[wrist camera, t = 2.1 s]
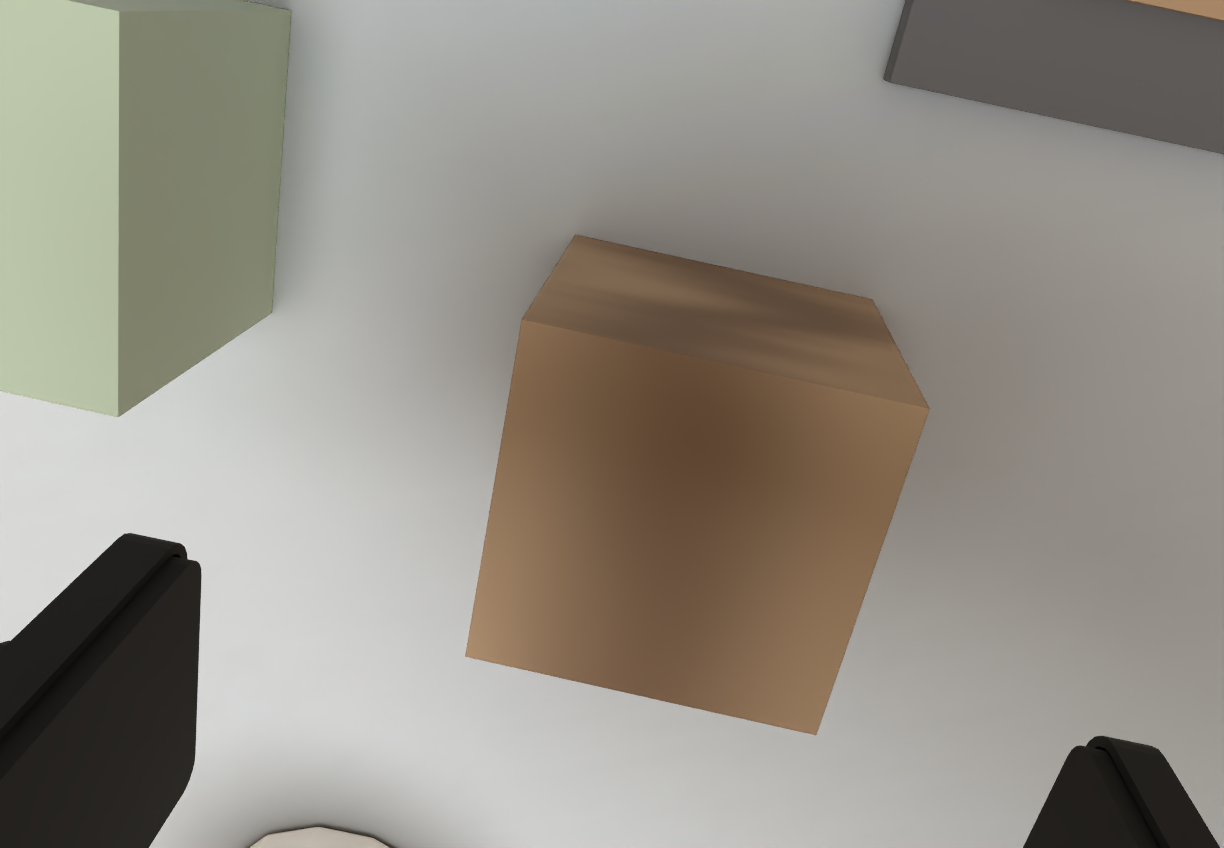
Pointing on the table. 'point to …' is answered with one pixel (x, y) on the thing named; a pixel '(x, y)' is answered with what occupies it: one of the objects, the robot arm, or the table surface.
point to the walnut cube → (692, 483)
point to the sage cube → (134, 190)
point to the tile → (1075, 61)
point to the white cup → (317, 839)
